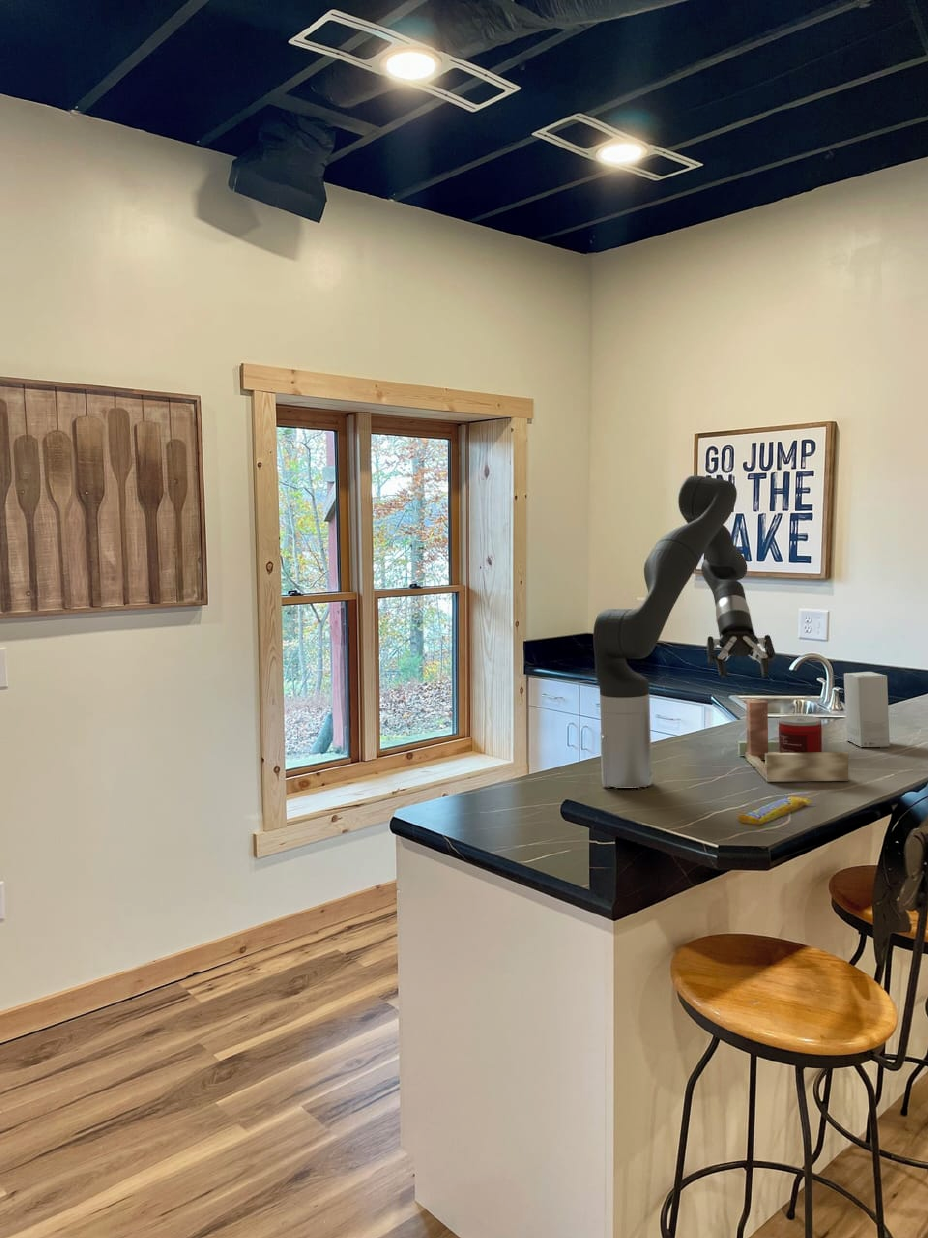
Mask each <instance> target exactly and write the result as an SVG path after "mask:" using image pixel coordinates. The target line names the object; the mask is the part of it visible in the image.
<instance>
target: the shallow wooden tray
mask: <svg viewBox="0 0 928 1238" xmlns="http://www.w3.org/2000/svg"><path fill="white" fill-rule="evenodd" d="M745 704H746V706H745V708H746V741H747V752H746V757H745V759H746V760H747V761H748V762H749V764H750V765H751V764H752V765H751V766H752V767H753V768H754V767H755V768H754V769H755V770H756V771H757V772H758V774H759V775H760V776H761V777H762V778H763V779H764V780H765V781H766V782H767V783H769V782H838V781H839V782H840V781H841V782H844V781H845V782H848V781H849V777H850V776H849V775H850V774H849V753H848V752H847V751H830V752H829V751H825V752H823V751H822V752H812V753H779V752H768V740H769V726H768V725H769V715H768V712H769V709H768V708H769V707H768V705H769V704H768V701H766V700H765V699H746V702H745ZM761 760H765V761H761Z"/></svg>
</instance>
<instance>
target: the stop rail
mask: <svg viewBox="0 0 928 1238" xmlns="http://www.w3.org/2000/svg"><path fill="white" fill-rule="evenodd" d="M746 752H747V740H737V755H738V754H739V755H746ZM768 752H779V739H777V740H772V739H770V740H769V739H768ZM739 755H738V756H739Z"/></svg>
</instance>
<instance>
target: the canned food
mask: <svg viewBox="0 0 928 1238" xmlns="http://www.w3.org/2000/svg"><path fill="white" fill-rule="evenodd" d="M822 730H823V728H822V719H821V718H819V717H817V716H812V715H801V714H800V715H798V714H797V715H796V714H794V715H785V716H781V717H779V719H778V740H779V753H812V752H823V749H822V748H823V747H822V746H823V743H822V742H823V740H822V739H823V738H822V737H823V736H822V735H823V733H822Z"/></svg>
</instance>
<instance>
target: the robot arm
mask: <svg viewBox="0 0 928 1238" xmlns="http://www.w3.org/2000/svg"><path fill="white" fill-rule="evenodd" d="M737 490H738V489H737V487H736V485H735V483H734V482H731V481H729V480H727V479H721V478H716V477H711V476H710V477H709V476H703V475H690V476H688V477H686V479H684V481H683V483H682V484H681V486H680V489H679V493H678V498H677V499H678V500H677V503H678V508H679V511H680V514H681V516H682V517H683V519H684V520H685V522H686V523H687V524H684V525H682V526H680V527H677V528H675V529H673V530H671V531H669V532H668V533H666V534H664V535H663V536H662V537H661V538H660V539H659V540H658V541H657V542H656V544H655V545H654V547H653V548H652V550H651V551H650V553H649V555H648V556H647V558H646V560H645V562H644V565H643V577H644V583H645V586H646V588H647V595H646V596H645V599H643V600H644V601H643V602H642V603H641V605H640V606H638V607H636V608H634V609H633V608H632V609H628V608H627V609H626V608H625V609H622V608H619V609H618V608H617V609H615V608H611V609H604V610H603V611H600V613H598V615H597V616H596V619H595V621H594V625H593V636H592V637H593V639H592V640H593V652H594V653H593V654H594V663H595V664H594V665H595V677H596V682H597V684H598V687H599V698H600V699H599V702H600V703H599V704H600V708H599V709H600V730H601V731H600V756H601V757H600V758H601V759H600V760H601V761H600V762H601V783H602V787H603V788H607V787H606V786H613V787H633V788H634V787H636V788H637V787H644V788H647V786H648V787H649V786H651V785H652V783H653V782H652V775H653V771H652V745H651V744H652V743H651V742H652V740H651V739H652V738H651V737H652V736H651V706H650V705H651V704H650V703H651V701H650V699H651V697H650V683H649V680H648V679H647V677H645V676H643V675H642V674H639V673H637V672H636V671H634V670H633V669H632V668H631V667H630V666H629V665H628V663H627V659H630V660H631V659H632V660H639V659H640V660H641V659H644V658H646V657H648V656H649V655H650V654H651V653H652V652H653V651H654V649H655V648H656V645H657V644H658V642H659V640H660V638H661V635H662V632H663V631H664V627H665V625H666V623H667V620H668V619H669V617H670V613H671V612H672V610H673V607H674V606H675V605H676V603H677V600H678V598H679V597H680V595H681V594H682V591H683V590H684V588H685V586H686V585H687V583H688V582H689V581H690V578H691V577H692V576H693V574H694V572H695V570H696V568H697V567H698V565H699V563H700V561H701V559H702V557H703V555H704V558H705V559H704V560H703V562H702V563H701V568H700V571H701V574H702V577H703V579H704V581H705V582H706V584H707V585H708V587H709V589H710V590H711V592H712V595H713V599H714V604H715V605H714V606H715V617H716V618H715V619H716V623H717V627H718V632H719V633H718V634H719V638H714V636H707V640H706V641H707V642H706V654H707V663H708V664H709V665H711V664H715V665H716V666H717V671H718V675H719V676H720V677H721V678H722V679H727V675H728V674H727V673H728V671H727V665H726V661H727V660H728V659H729V657H730V656H732V657H733V658H735V657H736V658H737V657H738V658H739V657H744V658H746V657H748V656H749V657H750V658H751V659H752V660H754V661H755V660H756V661H757V662H758V663H759V667H760V672H761V677H762V678H767V676H768V675H769V672H770V666H769V663H774V661H775V657H776V650H775V648H774V644H773V642H772V638H771V636H770V635H769V634H765V635H764V637H757V636H756V634H755V629H754V625H753V620H752V616H751V612H750V608H749V606H748V602H747V599H746V598H747V597H746V593H745V589H744V586H743V584H742V583H741V582H740V580H743V578H745V576H746V575H747V572H748V563H747V561H746V558H745V556H744V555H743V554H742V553H741V552H740V550H739V549H737V548H736V547H735V544H734V540H733V536H732V534H731V532H730V531H729V529H728V528H727V527H726V526H725V523H726V522H727V520H728V519H729V518H730V516H731V514H732V512H733V510H734V508H735V505H736V501H737V499H738V498H737V497H738V496H737V494H738V492H737ZM758 645H760V646H761V647H760V646H758ZM717 646H719V647H720V648H721V649H722V650H721V651H720V653H719V654H718V655H716V654H715V649H716V648H717ZM761 648H762V649H764V651H763V650H762V649H761Z"/></svg>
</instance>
